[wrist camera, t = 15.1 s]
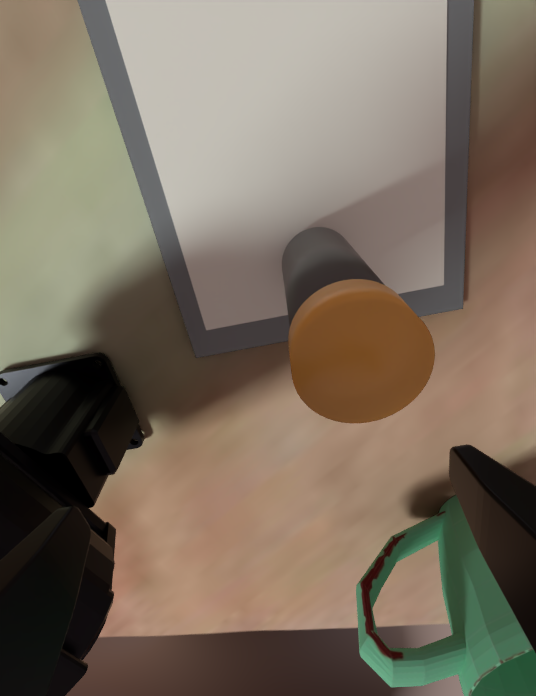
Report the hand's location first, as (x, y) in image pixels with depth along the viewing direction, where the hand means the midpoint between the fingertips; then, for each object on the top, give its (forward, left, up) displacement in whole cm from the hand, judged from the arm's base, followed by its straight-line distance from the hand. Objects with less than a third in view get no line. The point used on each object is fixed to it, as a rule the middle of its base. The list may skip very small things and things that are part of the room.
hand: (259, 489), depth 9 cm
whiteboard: (+3, +7, -12) cm, 14 cm away
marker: (+3, +2, -11) cm, 12 cm away
